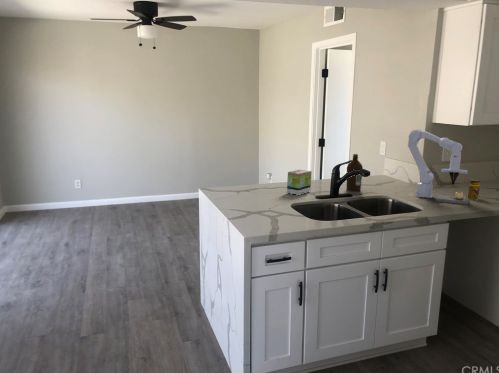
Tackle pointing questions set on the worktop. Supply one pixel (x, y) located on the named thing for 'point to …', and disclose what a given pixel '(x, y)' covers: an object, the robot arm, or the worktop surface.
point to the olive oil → (355, 181)
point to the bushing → (459, 195)
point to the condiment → (473, 190)
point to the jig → (451, 199)
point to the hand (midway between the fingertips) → (452, 184)
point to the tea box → (299, 182)
